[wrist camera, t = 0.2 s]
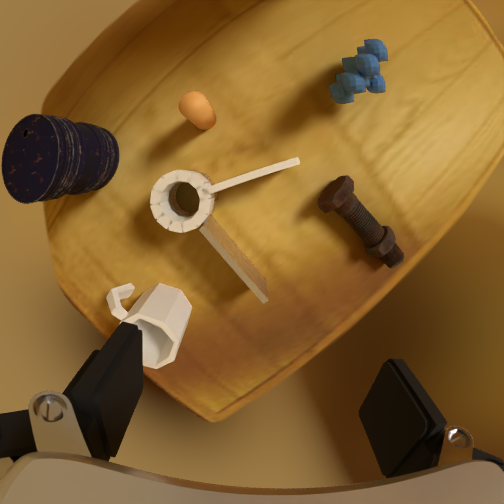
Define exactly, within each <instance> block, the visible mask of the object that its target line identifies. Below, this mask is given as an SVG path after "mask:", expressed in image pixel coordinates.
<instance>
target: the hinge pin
mask: <svg viewBox="0 0 504 504" xmlns="http://www.w3.org/2000/svg"><path fill="white" fill-rule="evenodd" d="M179 110H180V112H181V114H182V115H183V116H185V117H186V118H187V119H188V120H189V121H190V122H192V123H193V124H194V125H195V126H196V127H197V128H199V129H201V130H208V129H210V128H212V127H213V126H214V125H215V123H216V115H215V113H214V111H213V110H212V108H211V106H210V104H209V103H208V101H207V99H206V98H205V96H204V95H203V94H202V93H200V92H195V91H193V92H189V93H187V94H185V95H184V96H183V97H182V98H181V100H180V102H179Z"/></svg>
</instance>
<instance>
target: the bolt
mask: <svg viewBox="0 0 504 504" xmlns="http://www.w3.org/2000/svg"><path fill="white" fill-rule="evenodd" d="M353 191H354V181H353V180H352V179H351V178H350V177H349V176H340V177H338V178H337V179H336V180H334V181H333V182H332V183H331V184H329V186H328V187H327V188H326V189H325V190H324V191H323V193H322V194H321V195H320V197H319V199H318V205H319V208H320V209H321V210H322V211H323V212H324V213H327V212H329V211H332V210H335V211H336V212H337V213H338V214H339V215H341V216H342V217H343V218H344V219H345V220H346V221H347V223H349V224H350V226H351V227H352V228H353V229H354V230H355V231H356V232H357V233H358V234H359V235H360V236H361V237H362V238H363V240H365V249H366V252H367V253H368V254H369V255H370V256H371V257H380V259H381V260H382V261H383V262H384V263H385V264H386V265H387V266H388V267H389V268H394V267H395V266H397V265H398V264H400V263H401V262H402V261H403V258H404V256H403V255H404V253H403V252H402V251H401V249H400V248H399V247H398V246H397V244H396V243H395V235H394V232H393V231H392V229H391V228H390V227H389V226H381V225H380V224H379V223H378V222H377V220H375V218H374V217H373V216H372V215H371V214H370V213H369V212H368V210H366V208H365V207H364V206H363V205H362V203H361V202H360V201H359V200H358V199H357V197H356V196H355V195H354V194H353Z"/></svg>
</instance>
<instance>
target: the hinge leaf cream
mask: <svg viewBox="0 0 504 504" xmlns="http://www.w3.org/2000/svg"><path fill="white" fill-rule="evenodd" d="M298 164H300V161H299V158H298V157H296V158H293V159H289V160H286V161H283V162H280V163H277V164H273V165H270V166H267V167H264V168H261V169H258V170H255V171H252V172H249V173H246V174H243V175H240V176H237V177H234V178H232V179H229V180H226V181H223V182H220V183H217V184H215V185H212V186H211V184H210V183H208V182H209V181H208V180H207V179H206V178H205V177H204V176H202V175H201V174H200V173H197V172H195V171H188V170H175V171H172V172H170V173H167V174H165V175H163V177H161V178H160V179H159V180H158V181H157V183H156V184H155V185H154V187H153V189H154V190H152V192H151V199H150V204H154V205H151V206H150V207H151V210H152V212H153V215H154V218H155V219H156V218H158V219H157V220H156V221H157V222H158V223H159V224H161V225H162V226H163V227H164V228H165V229H168V228H169V231H174V232H179V233H182V232H184V233H185V232H188V231H190V230H193V229H196V228H198V227H199V226H200V225H201V224H202V223H203V221H204V220H205V219H206V218H207V217H208V215H209V214H210V213H211V211H212V210H213V204H214V198H215V197H212V196H214V192H217V191H220V190H222V189H225V188H228V187H231V186H234V185H237V184H240V183H242V182H245V181H248V180H251V179H254V178H257V177H260V176H263V175H266V174H270V173H273V172H276V171H279V170H282V169H285V168H288V167H292V166H295V165H298ZM180 181H182V182H188V183H189V184H191V185H192V186H193V187H194V188H195V189H196V190H197V192H198V195H199V198H200V203H199V209H198V211H197V213H196V214H195V215H193V216H190V217H183V216H178V215H177V214H176V213H175V212H174V211H172V210H171V207H170V205H169V202H168V198H169V191H170V190H171V189H172V187H173V186H174V185H175V183H178V182H180Z"/></svg>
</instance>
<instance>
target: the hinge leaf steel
mask: <svg viewBox="0 0 504 504" xmlns="http://www.w3.org/2000/svg"><path fill="white" fill-rule="evenodd" d="M188 171H195V172H197V173H200V174H201V175H202V176H204V177H205V178H206V179H207V180H208V181H209V182H208V183H210V184H211V186H212V185H215V183H214V182H213V181H212V180H211V178H210V177H209V176H208V175H206V174H205V173H202V172H199V171H196V170H188ZM182 183H183V182H182V181H180V182H178V183H175V185H174V186H173V187H172V189H171V190H170V191H169V198H168V202H169V205H170V207H171V210H172V211H174V212H175V213H176V214H177V215H178V216H183V217H190V216H193V215H195V214H196V213H197V212H194V213H189V212H186V211H184V210H182V209H181V208H180V206H179V205H178V204H177V201H176V192H177V189H178V186H179V185H181V184H182ZM212 197H215V198H214V204H213V210H214V208H215V205H216V203H217V200H218V199H217V198H218V195H217V192H214V196H212ZM213 210H212V211H211V213H212V212H213ZM211 213H210V214H209V215H208V217H207V218H206V219H205V220H204V221H203V223H204V224H203V225H202V227H201V228H200V229H199V231H200V232H201V233H202V234H203V235H204V236H205V238H206V239H207V240H208V241H209V242H210V243H211V245H212V246H213V247H214V248H215V249H216V250H217V252H218V253H219V254H220V255H221V256H222V257H223V259H224V260H225V261H226V262H227V263H228V264H229V265H230V267H231V268H232V269H233V270H234V271H235V272H236V273H237V275H238V276H239V277H240V278H241V279H242V280H243V281H244V283H245V284H246V285H247V286H248V287H249V288H250V289H251V291H252V292H253V293H254V294H255V295H256V296H257V297H258V298H259V300H260V301H261V302H262V303H263V304H264V303H266V302H267V301H268V300H269V298H268V292H267V286H266V280H265V278H264V276H263V275H262V274H261V273H260V272H259V270H258V269H257V268H256V267H255V266H254V265H253V263H252V262H251V261H250V260H249V259H248V257H247V256H246V255H245V254H244V253H243V252H242V250H241V249H240V248H239V247H238V246H237V244H236V243H235V242H234V241H233V240H232V239H231V237H230V236H229V235H228V234H227V233H226V231H225V230H224V229H223V228H222V227H221V226H220V224H219V223H218V222H217V221H216V220H215V218H214V217H213V216H212V215H211Z"/></svg>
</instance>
